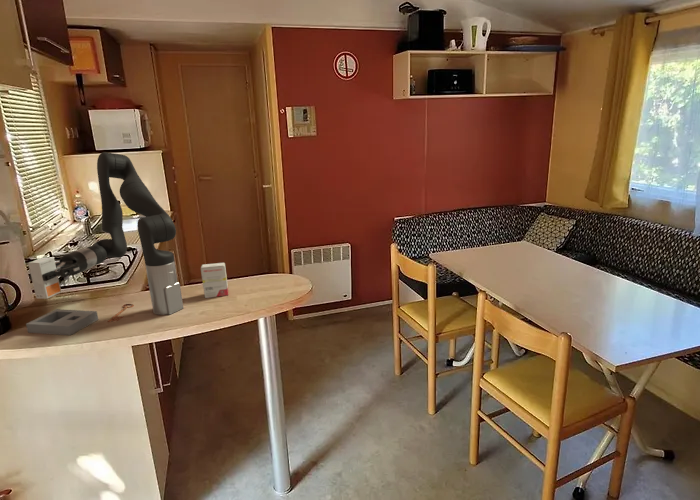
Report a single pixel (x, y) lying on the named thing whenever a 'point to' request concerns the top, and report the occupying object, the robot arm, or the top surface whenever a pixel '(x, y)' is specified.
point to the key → (120, 313)
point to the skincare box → (40, 286)
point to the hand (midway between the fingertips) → (37, 277)
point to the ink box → (214, 280)
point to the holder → (62, 322)
